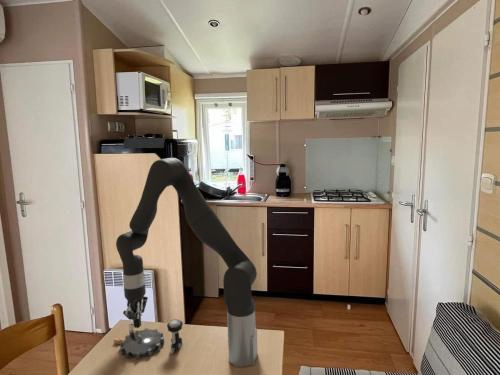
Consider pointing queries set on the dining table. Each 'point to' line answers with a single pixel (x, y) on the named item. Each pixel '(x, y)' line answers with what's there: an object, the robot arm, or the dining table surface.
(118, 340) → the pointer block
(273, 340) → the dining table surface
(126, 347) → the sprocket wheel
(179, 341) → the push button
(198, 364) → the dining table surface
